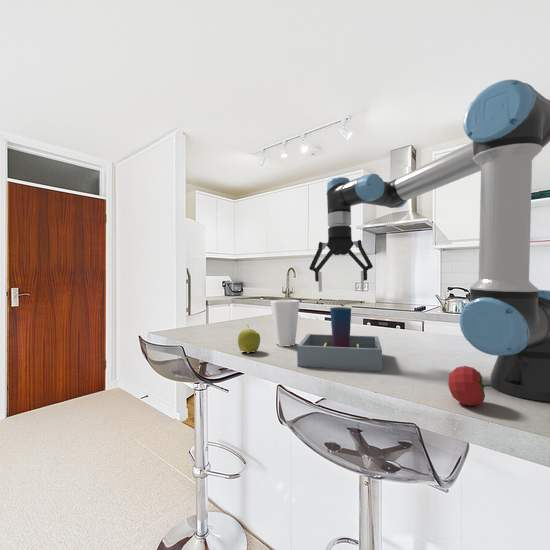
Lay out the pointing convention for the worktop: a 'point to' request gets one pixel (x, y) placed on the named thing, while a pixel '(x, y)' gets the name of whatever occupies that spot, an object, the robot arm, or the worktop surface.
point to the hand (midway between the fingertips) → (341, 291)
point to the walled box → (340, 353)
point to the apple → (248, 340)
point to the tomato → (467, 386)
